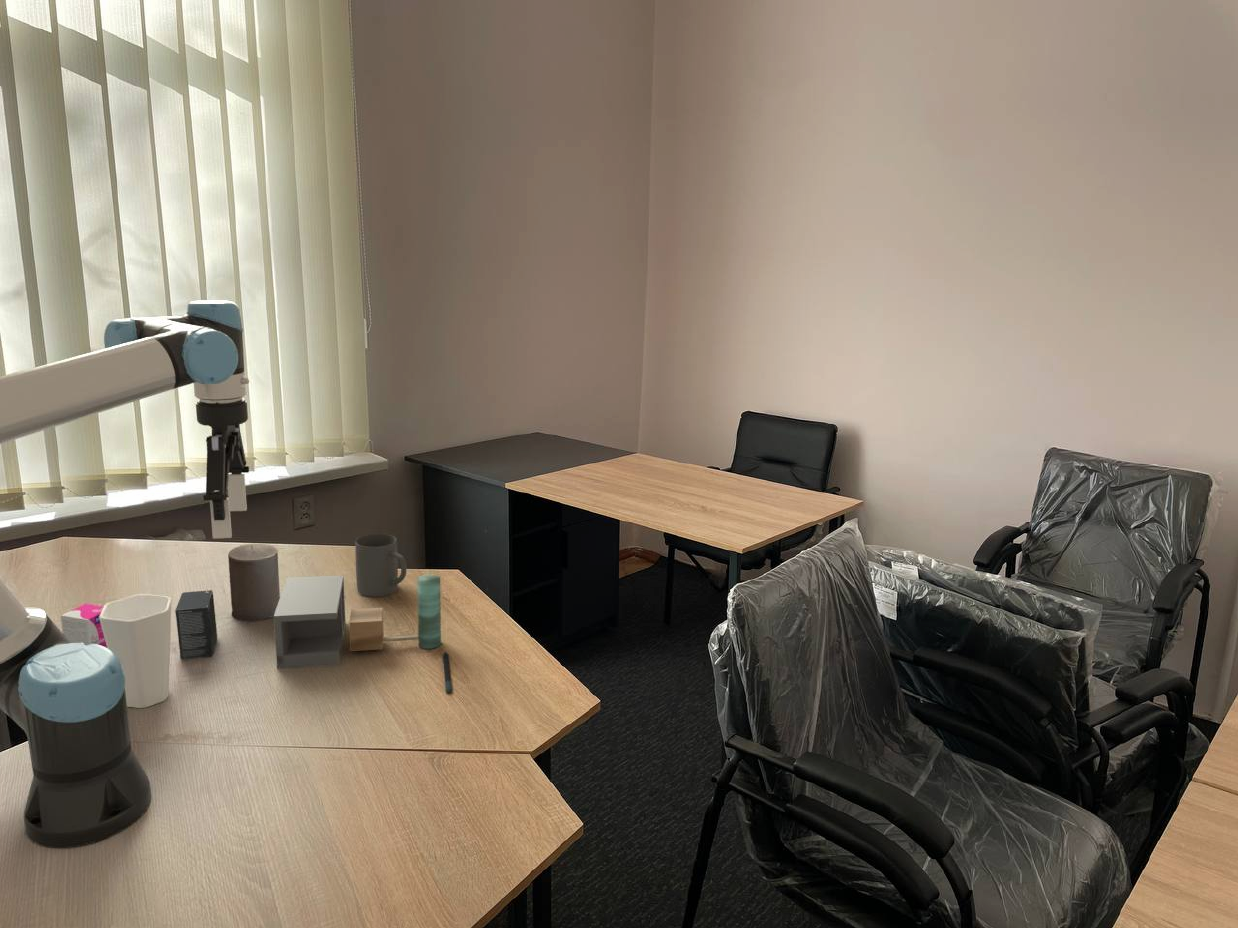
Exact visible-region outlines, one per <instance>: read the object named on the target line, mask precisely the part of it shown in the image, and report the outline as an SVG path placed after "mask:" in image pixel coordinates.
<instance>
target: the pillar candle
mask: <svg viewBox="0 0 1238 928" xmlns="http://www.w3.org/2000/svg"><path fill="white" fill-rule="evenodd" d="M278 552H279V550H278V548H277V547H276V546H274V545H272V544H267V543H248V544H242V545H239V546H236V547H234V548H232V549H230V550H229V551H228V554H227V556H228V557H227V558H228V572H229V573H228V574H229V583H230V585H229V587H230V589H229V590H230V601H231V603H230V604H231V616H232V618H234V619H236V620H239V621H242V622H243V621H245V622H256V621H263V620H267V619H270V618H272V617H273V618H274V614H275V611H276V608H277V605H278V602H279V599H280V596H281V593H280V592H281V591H280V575H279V573H280V572H279V556H278V555H279V554H278Z"/></svg>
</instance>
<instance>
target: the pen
mask: <svg viewBox="0 0 1238 928" xmlns="http://www.w3.org/2000/svg"><path fill="white" fill-rule="evenodd" d="M442 657H443V660H442V661H443V670H444V672H443V673H444V682H445V683H444V684H445V693H446V695H451V694H452V692H453V691H452V681H451V671H450V670H451V669H450V660H449V654H448V652H446V651H445V652H444V653H443V655H442Z"/></svg>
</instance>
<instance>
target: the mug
mask: <svg viewBox="0 0 1238 928" xmlns="http://www.w3.org/2000/svg"><path fill="white" fill-rule="evenodd" d="M397 541H398V540H397V538H396V537H395V536H394V535H392V534H387V533H380V532H379V533H378V532H377V533H369V534H365V535H361V536H359V537H358V538H356V539H355V548H354V550H355V551H354V552H355V553H354V554H355V557H354V558H355V579H356V590H357V593H359V594H360V595H361V596H365V597H370V598H380V597H386V596H389V595H391V594H394V593H395V592H396V591H397V590H398V586H399V584H400V583H401V582H403V581H404V579H405V578H406V576H407V561H406V559H405V557H404V556H403V555H402V554H400V553H398V542H397ZM398 560H399V562H400V575H399V570H398V568H399V566H398V565H399V564H398Z"/></svg>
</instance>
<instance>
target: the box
mask: <svg viewBox="0 0 1238 928" xmlns="http://www.w3.org/2000/svg"><path fill="white" fill-rule="evenodd" d="M214 599H215V598H214V592H213V590H212V589H209V590H197V591H188V592H187V591H186V592H182V593H181V595H180V598H179V600H178V603H177V605H176V607H175V611H174V612H175V618H176V628H177V629H176V630H177V637H178V640H177V641H178V647H179V656H180V660H182V661H183V660H191V659H205V658H211V657H213V656H214V655H213V654H214V651H215V648H216V644H217V641H218V630H217V620H216V610H215V602H214Z"/></svg>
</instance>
